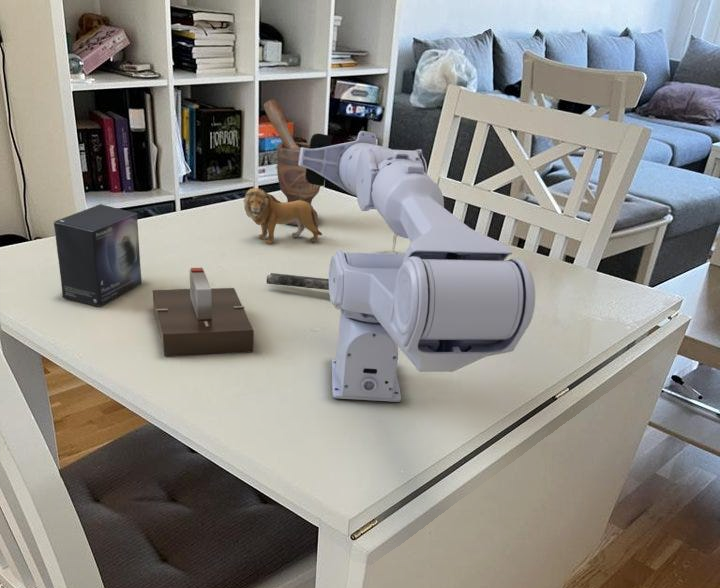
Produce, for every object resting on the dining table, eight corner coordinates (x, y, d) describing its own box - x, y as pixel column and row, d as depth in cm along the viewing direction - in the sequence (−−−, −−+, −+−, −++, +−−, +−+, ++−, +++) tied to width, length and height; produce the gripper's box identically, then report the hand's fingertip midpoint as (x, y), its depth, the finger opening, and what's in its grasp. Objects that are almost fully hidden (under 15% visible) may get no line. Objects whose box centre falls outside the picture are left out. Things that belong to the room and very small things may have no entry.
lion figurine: (249, 248, 127) (250, 193, 122) (238, 238, 131) (238, 184, 126) (328, 242, 133) (331, 189, 128) (315, 232, 137) (318, 181, 132)
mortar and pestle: (255, 222, 139) (256, 103, 127) (263, 209, 146) (265, 95, 134) (317, 229, 139) (324, 110, 127) (323, 216, 146) (329, 102, 134)
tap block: (254, 351, 95) (254, 328, 94) (163, 356, 92) (161, 332, 90) (234, 308, 106) (234, 286, 104) (152, 310, 103) (151, 288, 101)
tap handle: (212, 319, 95) (211, 287, 92) (197, 320, 94) (196, 287, 92) (204, 298, 100) (203, 267, 98) (190, 298, 100) (189, 267, 97)
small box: (102, 308, 102) (93, 230, 96) (60, 298, 103) (49, 221, 97) (144, 284, 110) (139, 211, 104) (106, 275, 112) (98, 202, 106)
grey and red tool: (443, 303, 119) (435, 326, 106) (285, 285, 123) (258, 306, 109) (448, 262, 116) (441, 281, 103) (286, 245, 120) (258, 261, 106)
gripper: (438, 146, 85) (406, 140, 97) (313, 120, 81) (295, 117, 93) (425, 211, 88) (395, 197, 100) (303, 189, 84) (287, 177, 96)
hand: (346, 162), depth 96 cm, fingers open, 7 cm apart
